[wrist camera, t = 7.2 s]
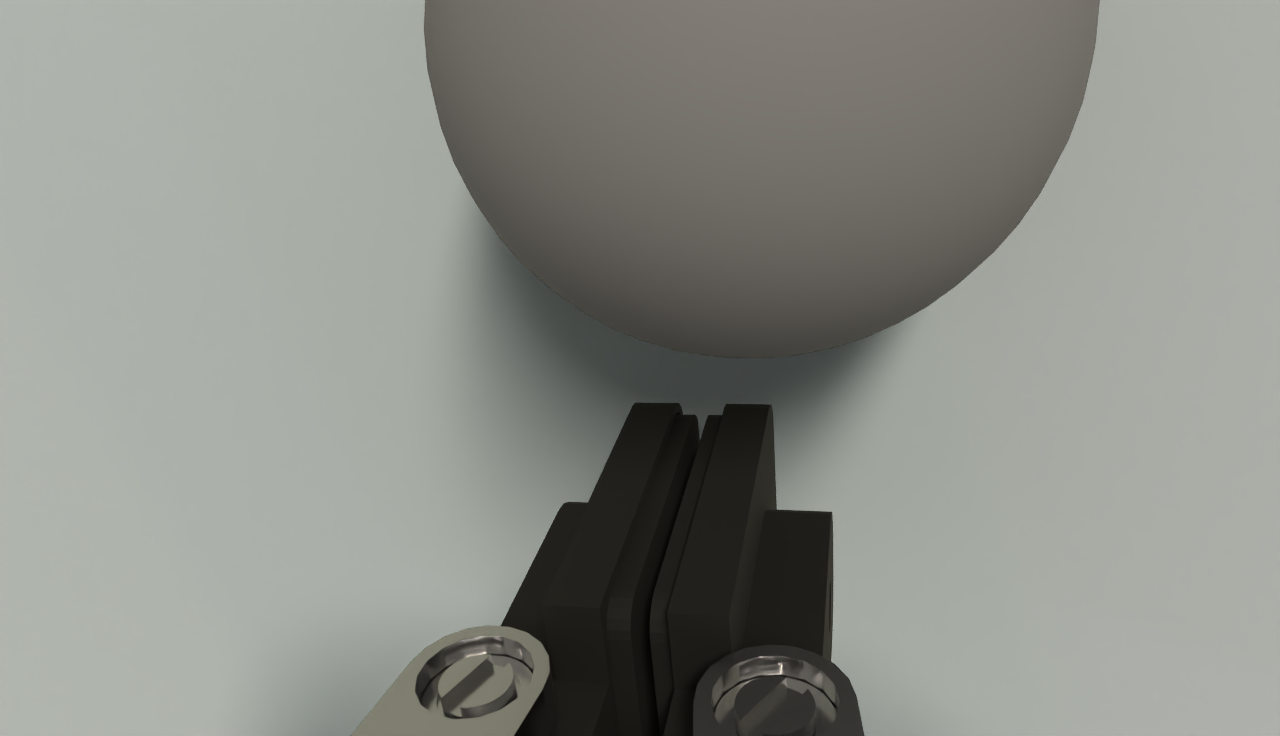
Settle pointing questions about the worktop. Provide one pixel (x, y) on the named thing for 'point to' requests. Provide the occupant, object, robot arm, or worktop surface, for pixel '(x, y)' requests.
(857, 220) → the cue ball
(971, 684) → the worktop surface
